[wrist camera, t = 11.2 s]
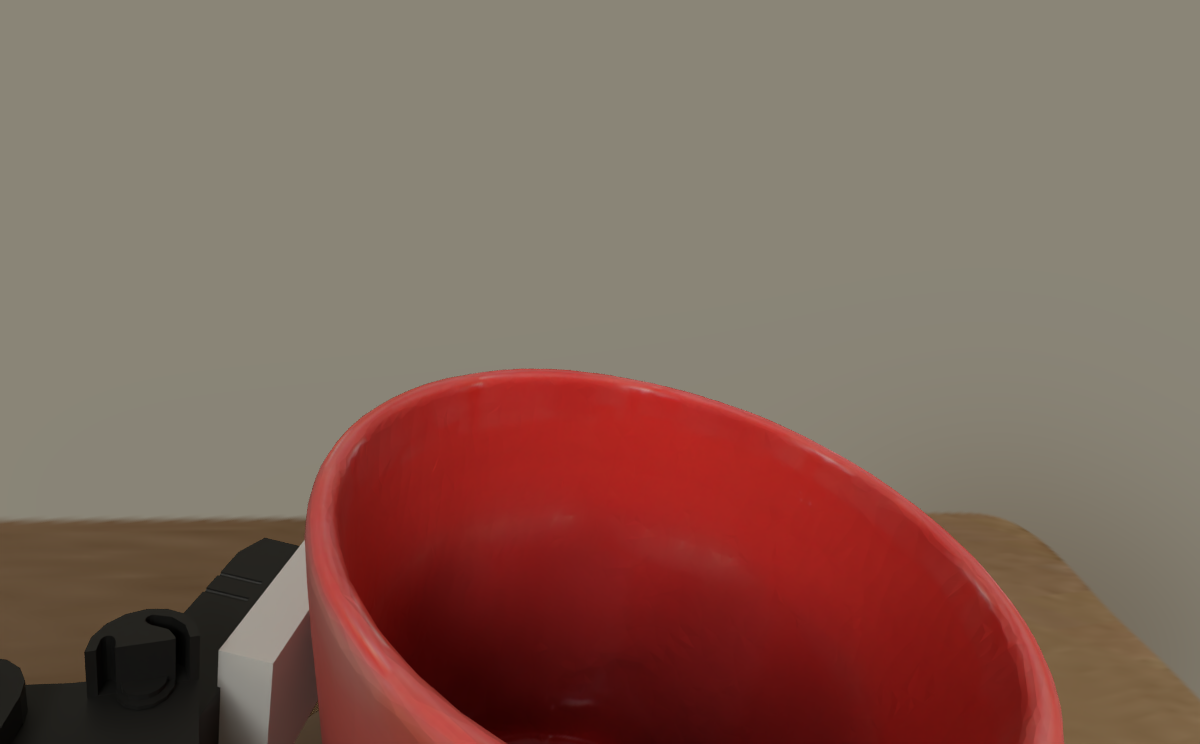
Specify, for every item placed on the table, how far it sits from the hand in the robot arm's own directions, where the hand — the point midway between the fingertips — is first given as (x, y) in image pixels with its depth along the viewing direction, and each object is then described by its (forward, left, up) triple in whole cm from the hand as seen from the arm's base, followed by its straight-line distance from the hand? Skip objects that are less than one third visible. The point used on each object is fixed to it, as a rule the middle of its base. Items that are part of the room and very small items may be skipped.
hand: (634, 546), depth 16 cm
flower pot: (+1, -4, -6) cm, 7 cm away
